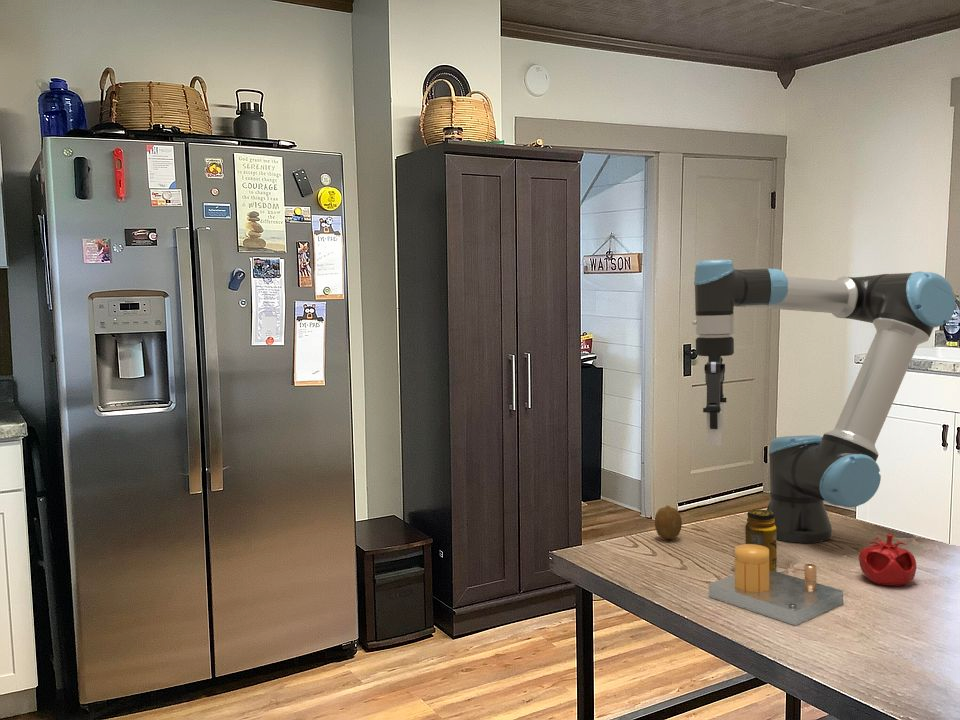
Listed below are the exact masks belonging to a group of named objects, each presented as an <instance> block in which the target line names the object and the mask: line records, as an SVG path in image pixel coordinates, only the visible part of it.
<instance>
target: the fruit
mask: <svg viewBox="0 0 960 720" xmlns="http://www.w3.org/2000/svg"><path fill="white" fill-rule="evenodd" d="M682 523H683V522H682V516H681V514H680V512H679V510H678V509H676V508H675V507H672V506H670V505H666V506H664V507H661V508H660V507H659V509H658V510H657V511H656V513H655V515H654V528H655V531H656V532H657V535H658V536H660V537H661V538H663V539H664V540H666V541H671V540H673V539H675V538H677V537H678V536H679V535H680V533H681V531H682Z"/></svg>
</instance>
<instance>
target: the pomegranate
mask: <svg viewBox="0 0 960 720" xmlns="http://www.w3.org/2000/svg"><path fill="white" fill-rule="evenodd" d="M893 537H894V534H892V533H887V534H886V542H884V541H883V540H882V539H881V538H880V537H876V538H874V539H873V538H872V540H873V541H870V542H867V545H868V546H866V547H864V548H863V549H862V550H860V552H859V554H858V563H859V566H860V570H861V572H862V574H863V575H864V576H865V577H866V578H867V579H868V580H869V581H871V582H872V583H874V584H877V585H880V586H895V587H899V586H901V587H902V586H905V585H907V584H910V582H912V581H913V580H914V578H915V576H916V571H917V562H916V558H915V556H914V554H913V553H912V552H910V550H908V549H905V548H902V547H899V545H903V546H904V545H908V543H906V542H902V541H898V542H896V543H893V542H892V541H893V540H894V538H893ZM877 540H878V541H879V542H877ZM870 544H871V545H870Z"/></svg>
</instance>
